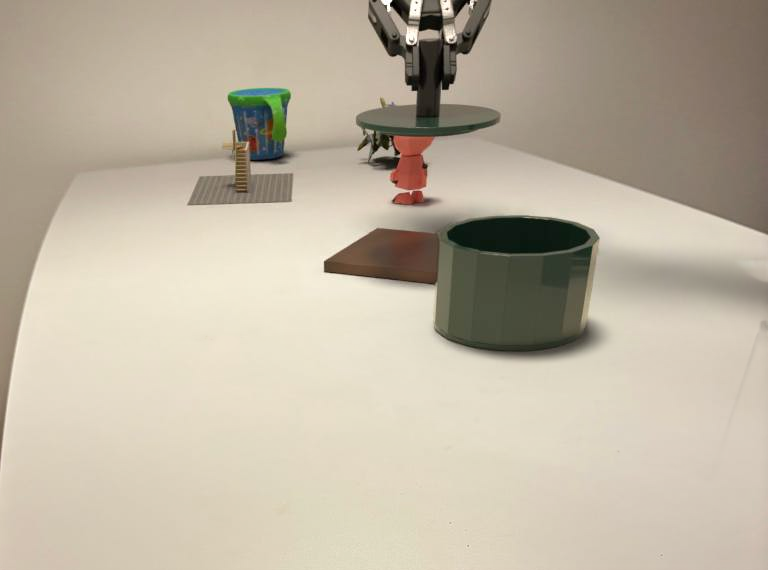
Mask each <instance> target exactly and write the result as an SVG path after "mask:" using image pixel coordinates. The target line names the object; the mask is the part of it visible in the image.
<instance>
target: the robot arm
mask: <svg viewBox="0 0 768 570" xmlns="http://www.w3.org/2000/svg"><path fill="white" fill-rule="evenodd" d="M492 1H493V0H368V9H367V19H368V20H369V23H370V24H371V26H372V28H373V30H374V32H375V34H376V35H377V37H378V39H379V40H380V43H381V45H382V46H383V48H384V51H386V54H387V56H389V57H391V58H395V57H397V56H399V57H401V58H402V59H403V61H404V82H405V85H406V86H407V87H408V86H409V87H410V86H411V87H410V88H411V89H410V91H411V92H417V91H418V88H419V78H420V71H419V45H418V44H419V35H420V32H424V31H428V30H430V31H435V32H437V36H438V38H440V39H444V45H443V63H442V82H441V91H449V90H450V85H454V84H455V81H456V77H457V71H458V67H457V65H458V63H457V55H460V54H461V55H465V56H466V55H468V54H470V53H471V51H472V49H473V48H474V45H475V44H476V41H477V39H478V37H479V35H480V33H481V31H482V29H483V27H484V25H485V23H486V21H487V18H488V17H489V15H490V11H491V6H492V3H493V2H492ZM466 5H467V7H468V11H467V13H468V15H469V18H468V19H467V21H466V23H465V25H464V27H463V29H462V32H459V33H457V29H456V24H455V21H456V18H457V17H458V15H459V14H460V12H462V10H463V9H464V7H465V6H466ZM391 9H393V10H394V12H395V13H396V14H397V15H398V16H399V17H400V19H401V20H402V21H403V22H404V24H405V25H406V26H407V29H406V35H402V34H401V32H400V30H399V28H398V27H397V25H396V22H395V21H394V20H393V18H392V16H391V11H392V10H391Z"/></svg>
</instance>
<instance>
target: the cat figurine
mask: <svg viewBox="0 0 768 570" xmlns="http://www.w3.org/2000/svg"><path fill="white" fill-rule="evenodd" d="M435 138H436V137H404V136H394V139H393V140H391V139H390V140H386V141H389V142H391V141H394V144H395V148H396V149H397V150H398V151H399V152H400V158H399V160H398V163H397V166H396V169H395V168H394V169H393V170H392V171H391V172H390V175H389V176H390V177H389V182H391V183H392V184H394V187H395V188H397V189H401V190H404V191H405V190H406V192H399V193H398V194H396V195H395V196H394V197H393V198H392V200H391V202H392V201H393V202H394V204H398V203H402V204H401V205H412V203H413V204H414V202H415V201H417V202H416V203H423V202H425V198H424V194H423V191H422V190H421V189H424V188H426V187H427V183H428V182H427V181H428V168H429V165H428V164H427V163H426V162H425V160H424V159H425V158H424V155H423V154H422V153H424V152H425V151H426V150H427V149H428V148H429V147H431V145H432V143H433V141H434V140H435ZM394 144H389V146H388V147H387V148H389V149H390V148H391V147H393V146H392V145H394ZM387 148H386V149H387ZM410 191H412V192H410ZM421 201H422V202H421ZM393 202H392V203H393Z"/></svg>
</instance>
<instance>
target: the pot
mask: <svg viewBox="0 0 768 570" xmlns="http://www.w3.org/2000/svg"><path fill="white" fill-rule="evenodd" d="M437 233H438V249H437V266H436V283H435V284H434V285H435V286H434V301H433V302H434V303H433V326H434V329H435V331H436V332H437V333H438V334H440V336H442V337H444V338H446V339H448V340H450V341H452V342H455V343H458V344H461V345H464V346H468V347H473V348H476V349H484V350H492V351H504V352H511V351H512V352H521V351H522V352H524V351H525V352H527V351H538V350H547V349H551V348H556V347H560V346H563V345H566V344H569V343H571V342H573V341H575V340H577V339H578V338H580V337H581V336H582V334H583V333H584V331H585V326H586V325H587V322H588V316H589V309H590V303H591V297H592V290H593V284H594V278H595V271H596V266H597V265H596V264H597V260H598V259H597V258H598V252H599V246H600V240H601V238H600V236H599V234H598V233H597V232H596V230H595V229H594V228H592V227H590V226H587V225H584V224H582V223H580V222H577V221H573V220H568V219H562V218H559V217H552V216H551V217H550V216H538V215H537V216H536V215H525V214H521V215H519V214H517V215H515V214H512V215H490V216H481V217H474V218H467V219H463V220H460V221H456V222H453V223H448V224H447V225H446V226H444V227H443V228H442V229H440V230H439V231H438V232H437Z"/></svg>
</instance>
